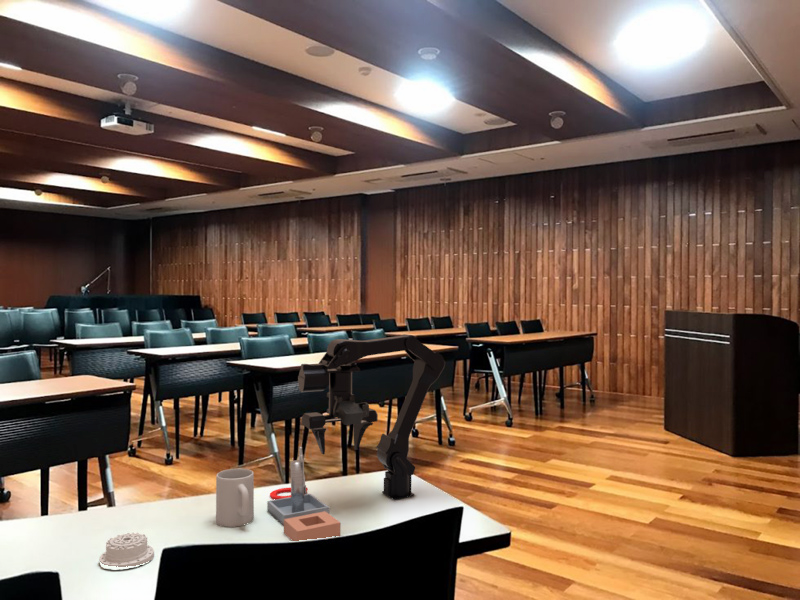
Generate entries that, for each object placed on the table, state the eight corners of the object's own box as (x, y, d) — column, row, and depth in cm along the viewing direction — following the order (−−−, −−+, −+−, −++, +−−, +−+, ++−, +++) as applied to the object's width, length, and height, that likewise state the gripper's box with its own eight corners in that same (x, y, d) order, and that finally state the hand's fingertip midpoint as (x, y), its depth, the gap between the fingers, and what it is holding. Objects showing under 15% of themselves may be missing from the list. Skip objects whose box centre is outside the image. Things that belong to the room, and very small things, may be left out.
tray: (310, 503, 159) (310, 493, 159) (329, 517, 150) (329, 507, 150) (267, 511, 153) (267, 501, 153) (284, 526, 144) (284, 515, 144)
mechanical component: (160, 549, 131) (110, 551, 130) (160, 528, 131) (110, 530, 130) (144, 571, 121) (90, 573, 121) (144, 548, 121) (90, 550, 120)
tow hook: (266, 502, 161) (302, 501, 161) (264, 452, 161) (300, 451, 160) (274, 492, 169) (308, 491, 169) (272, 444, 169) (306, 443, 169)
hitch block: (325, 524, 145) (325, 511, 145) (340, 536, 139) (340, 522, 138) (283, 532, 140) (283, 519, 140) (297, 545, 133) (297, 531, 133)
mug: (211, 518, 149) (211, 471, 148) (246, 511, 153) (246, 466, 153) (227, 535, 139) (227, 485, 138) (264, 527, 143) (265, 479, 143)
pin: (303, 508, 153) (302, 459, 153) (304, 513, 150) (303, 463, 150) (291, 510, 153) (289, 460, 152) (292, 514, 150) (290, 464, 149)
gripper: (319, 397, 147) (318, 464, 147) (388, 391, 157) (388, 454, 157) (300, 390, 157) (300, 453, 157) (367, 385, 166) (366, 444, 167)
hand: (339, 451), depth 159 cm, fingers open, 9 cm apart
